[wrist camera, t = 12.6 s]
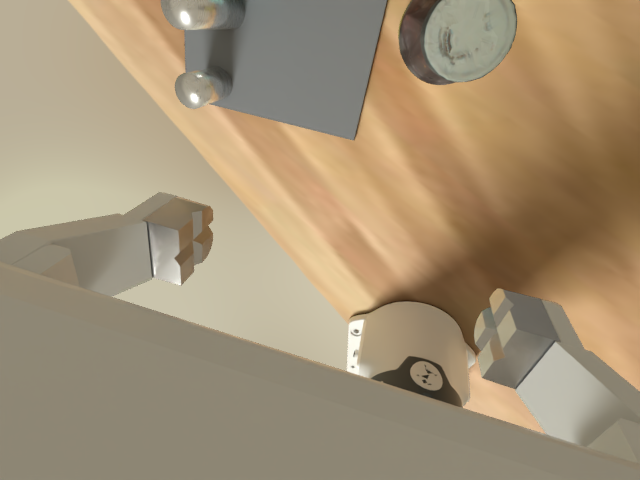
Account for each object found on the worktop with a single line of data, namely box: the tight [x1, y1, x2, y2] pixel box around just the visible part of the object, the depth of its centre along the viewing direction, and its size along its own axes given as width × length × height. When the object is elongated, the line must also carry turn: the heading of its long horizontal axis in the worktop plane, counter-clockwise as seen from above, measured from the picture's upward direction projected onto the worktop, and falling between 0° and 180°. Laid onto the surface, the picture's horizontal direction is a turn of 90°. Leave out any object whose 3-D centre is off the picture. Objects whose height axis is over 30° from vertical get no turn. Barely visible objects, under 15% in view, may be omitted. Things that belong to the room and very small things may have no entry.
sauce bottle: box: [398, 0, 517, 85], centre depth 24 cm, size 7×6×20 cm
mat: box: [185, 0, 387, 140], centre depth 34 cm, size 21×20×1 cm
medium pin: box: [161, 0, 245, 30], centre depth 31 cm, size 3×3×9 cm
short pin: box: [175, 67, 233, 109], centre depth 36 cm, size 3×3×6 cm
